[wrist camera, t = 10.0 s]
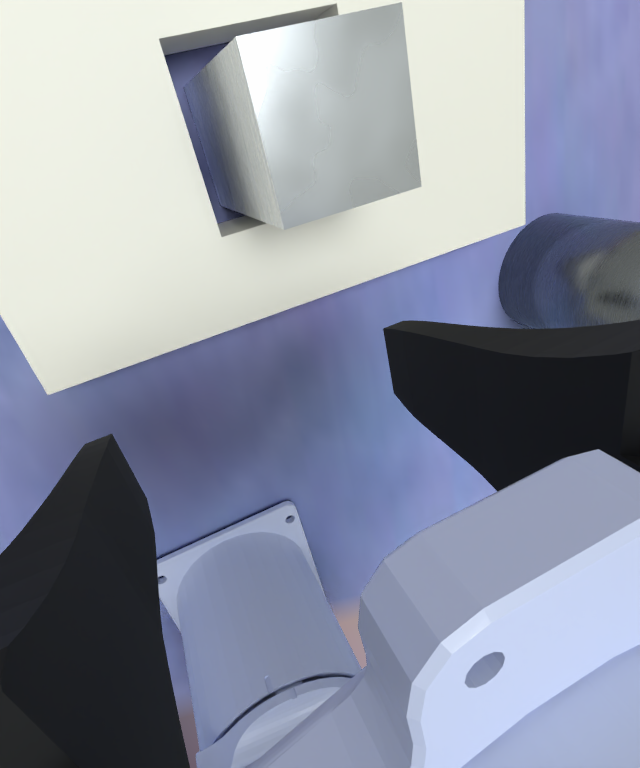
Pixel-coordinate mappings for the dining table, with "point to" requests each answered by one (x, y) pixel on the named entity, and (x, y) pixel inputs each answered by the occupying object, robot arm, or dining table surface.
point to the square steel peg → (309, 117)
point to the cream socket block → (186, 185)
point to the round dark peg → (572, 272)
